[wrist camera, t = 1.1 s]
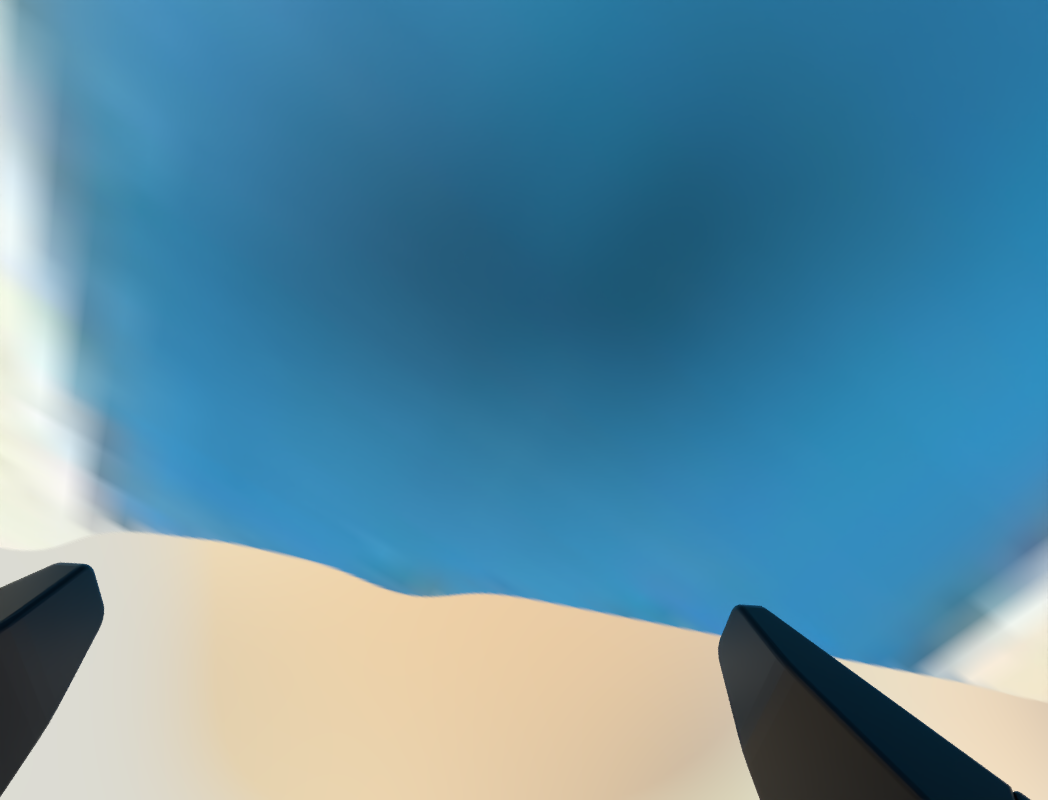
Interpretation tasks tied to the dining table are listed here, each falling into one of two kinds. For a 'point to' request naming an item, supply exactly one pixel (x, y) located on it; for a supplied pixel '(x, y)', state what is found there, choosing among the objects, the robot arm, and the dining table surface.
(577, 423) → the dining table surface
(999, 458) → the dining table surface
